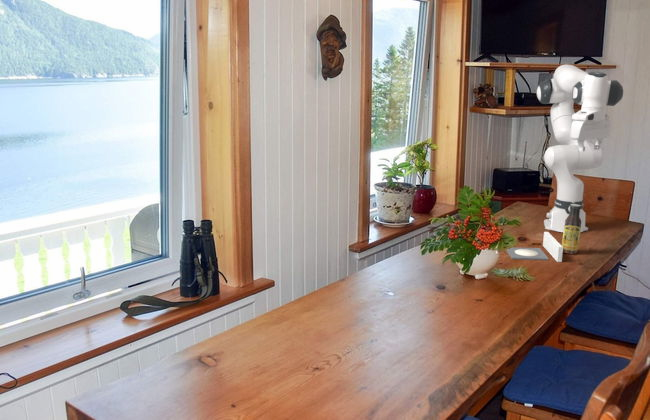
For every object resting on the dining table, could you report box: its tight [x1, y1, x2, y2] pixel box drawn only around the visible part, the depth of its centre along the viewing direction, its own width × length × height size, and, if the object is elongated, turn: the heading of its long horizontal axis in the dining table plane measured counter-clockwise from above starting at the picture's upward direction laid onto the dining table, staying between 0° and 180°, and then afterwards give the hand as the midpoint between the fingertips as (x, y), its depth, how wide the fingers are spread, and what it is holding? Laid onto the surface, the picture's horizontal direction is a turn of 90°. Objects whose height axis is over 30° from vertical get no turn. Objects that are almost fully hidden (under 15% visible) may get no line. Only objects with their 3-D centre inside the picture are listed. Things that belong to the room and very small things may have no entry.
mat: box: [505, 246, 550, 261], centre depth 247 cm, size 14×14×1 cm
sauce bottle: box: [561, 204, 581, 255], centre depth 247 cm, size 6×6×20 cm
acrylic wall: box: [542, 231, 563, 263], centre depth 248 cm, size 22×2×6 cm, turn 175°
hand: (589, 150), depth 243 cm, fingers open, 8 cm apart
